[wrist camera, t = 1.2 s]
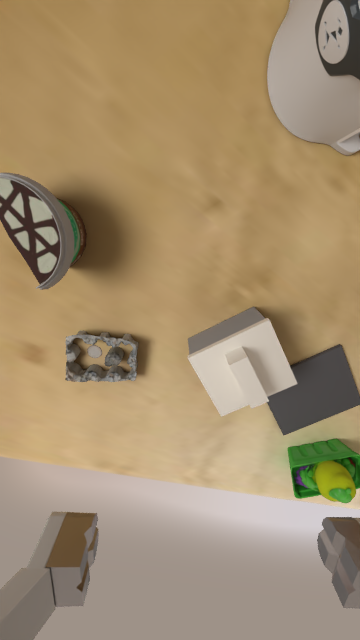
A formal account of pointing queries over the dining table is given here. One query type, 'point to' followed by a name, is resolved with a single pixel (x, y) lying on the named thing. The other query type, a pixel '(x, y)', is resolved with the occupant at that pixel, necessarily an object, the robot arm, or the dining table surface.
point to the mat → (315, 391)
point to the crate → (224, 329)
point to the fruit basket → (325, 470)
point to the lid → (243, 368)
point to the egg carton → (94, 351)
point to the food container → (41, 227)
